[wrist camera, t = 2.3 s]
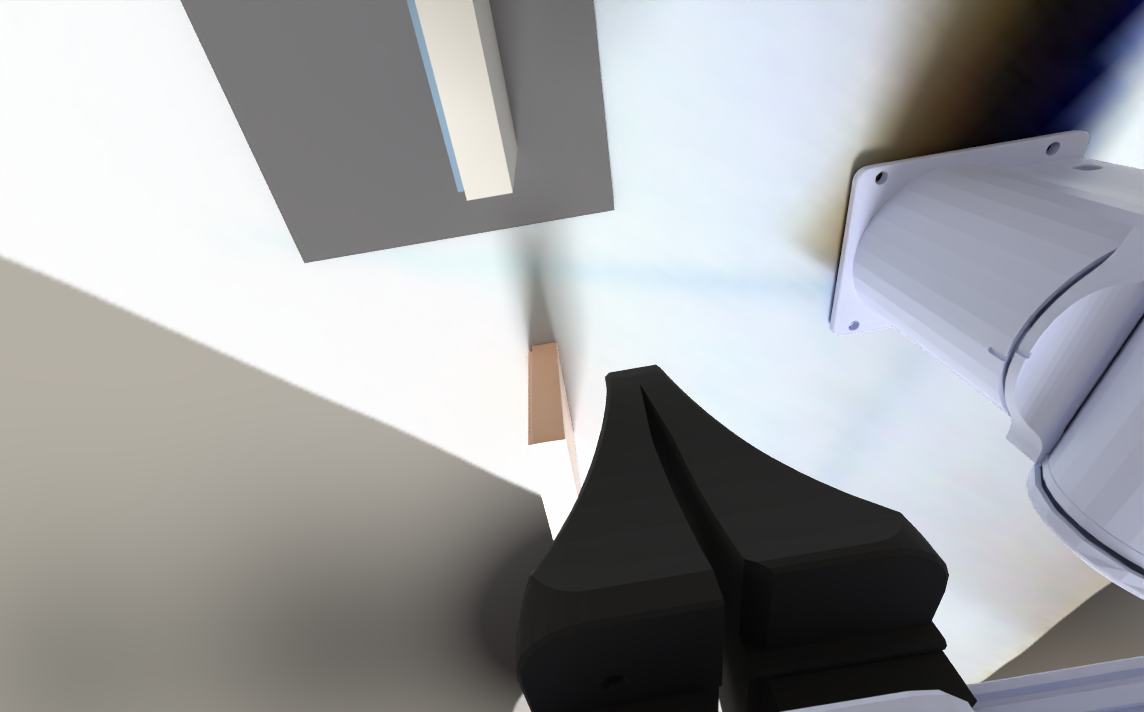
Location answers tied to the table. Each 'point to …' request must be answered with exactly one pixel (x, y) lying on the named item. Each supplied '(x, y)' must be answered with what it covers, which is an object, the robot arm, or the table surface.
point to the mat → (403, 118)
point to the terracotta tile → (551, 435)
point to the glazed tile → (468, 92)
